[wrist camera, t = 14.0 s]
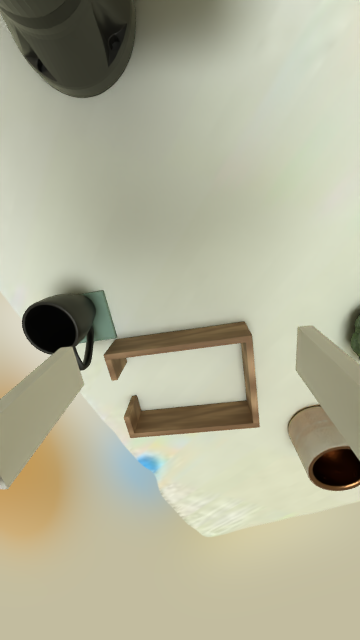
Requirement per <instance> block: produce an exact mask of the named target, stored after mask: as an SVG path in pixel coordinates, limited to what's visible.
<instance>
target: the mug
mask: <svg viewBox="0 0 360 640" xmlns="http://www.w3.org/2000/svg"><path fill="white" fill-rule="evenodd" d="M95 315H96V308H95V305H94V303H93V302H92V300H90V299H89V298H88V297H87V296H84V295H81V294H61V295H56V296H52V297H48V298H46V299H43V300H41V301H39V302H36V303H34V304H33V305H31V306H29V308H28V309H27V310H26V311H25V313H24V315H23V319H22V328H23V331H24V334H25V336H26V337H27V339H28V340H29V341H30V343H31V344H32V345H33V346H34V347H36V348H37V349H38V350H40V351H42V352H44V353H47V354H51V355H52V354H54V353H55V352H56V351H57V350H58V349H59V348H62V347H73V350H74V354H75V357H76V360H77V363H78V366H79V369H80V370H85V369H86V368H87V367H88V366H89V365H90V363H91V359H92V352H93V343H94V328H93V325H92V324H93V320H94V318H95ZM85 336H86V337H87V340H86V350H85V356H84V360H83V363H82V361H81V359H80V357H79V355H78V353H77V350H76V346H77V345H78V344H79V343H80V342H81V341H82V340H83V339H84V338H85Z"/></svg>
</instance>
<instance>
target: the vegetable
mask: <svg viewBox="0 0 360 640" xmlns="http://www.w3.org/2000/svg"><path fill="white" fill-rule="evenodd" d="M355 321H356V322H355V325H354V326H355V327H356V328H355V332H354V333H353V335H352V337H351V347H352V349H353V351H354V352H356V353H357V355H358V356H359V359H360V315H359V316H358V318H357V319H356V320H355Z"/></svg>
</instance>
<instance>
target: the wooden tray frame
mask: <svg viewBox="0 0 360 640" xmlns="http://www.w3.org/2000/svg"><path fill="white" fill-rule="evenodd" d="M237 343H241V348H242V358H243V368H244V378H245V387H246V397H247V401H238V402H228V403H218V404H207V405H197V406H187V407H177V408H167V409H157V410H146V411H141V408H140V405H139V402H138V398H137V396H132V398H131V400H130V403H129V405H128V408H127V410H126V413H125V415H124V420H125V423H126V426H127V429H128V432H129V435H130V438H137V437H149V436H161V435H173V434H185V433H197V432H208V431H220V430H232V429H244V428H256V427H260V425H259V413H258V401H257V389H256V377H255V365H254V353H253V341H252V335H251V333H250V331H249V329H248V327H247V325H246V323H245V322H238V323H231V324H223V325H216V326H209V327H202V328H195V329H187V330H180V331H173V332H166V333H159V334H152V335H144V336H137V337H130V338H123V339H116V340H115V341H114V342H113V343H112V345H111V346H110V347H109V349H108V350H107V351H106V353H105V354H104V358H105V361H106V364H107V367H108V370H109V373H110V377H111V380H112V381H113V380H118V378H119V376H120V374H121V372H122V370H123V368H124V367H125V365H126V363H127V360H126V358H128V357H135V356H143V355H151V354H159V353H167V352H174V351H182V350H190V349H198V348H205V347H213V346H221V345H229V344H237Z"/></svg>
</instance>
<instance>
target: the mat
mask: <svg viewBox="0 0 360 640" xmlns="http://www.w3.org/2000/svg"><path fill="white" fill-rule="evenodd" d="M81 295H84V296H87V297H88V298H89V299H90V300H92V302H93V303H94V305H95V308H96V315H95V318H94V320H93V324H92V325H93V328H94V341H99V340H107V339H114V338H117V335H116V331H115V328H114V325H113V321H112V318H111V314H110V311H109V308H108V304H107V301H106V297H105V294H104V291H97V292H91V293H85V294H81ZM86 340H87V337H86V336H85V338H84V339H83V340H82V341H81V342H80V343H85V342H86Z"/></svg>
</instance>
